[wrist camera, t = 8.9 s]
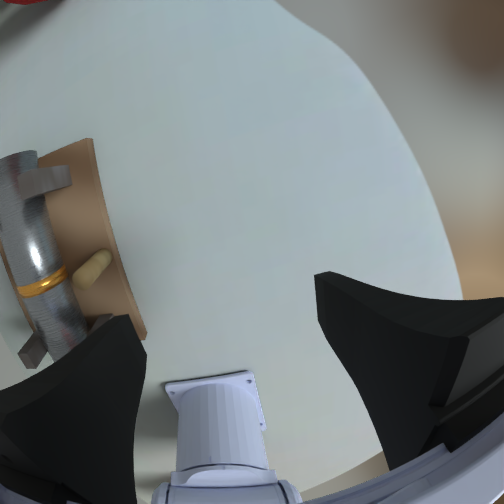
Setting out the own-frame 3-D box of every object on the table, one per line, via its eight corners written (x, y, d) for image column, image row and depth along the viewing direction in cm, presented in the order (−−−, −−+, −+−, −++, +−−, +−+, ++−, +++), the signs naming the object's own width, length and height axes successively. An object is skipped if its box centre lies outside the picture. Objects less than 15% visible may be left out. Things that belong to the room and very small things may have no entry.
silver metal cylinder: (106, 340, 19) (93, 373, 16) (67, 346, 19) (51, 376, 15) (47, 150, 14) (16, 149, 11) (7, 169, 14) (-25, 174, 10)
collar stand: (147, 332, 21) (132, 379, 15) (47, 343, 20) (22, 380, 15) (92, 138, 15) (51, 134, 10) (-9, 186, 15) (-52, 198, 10)
